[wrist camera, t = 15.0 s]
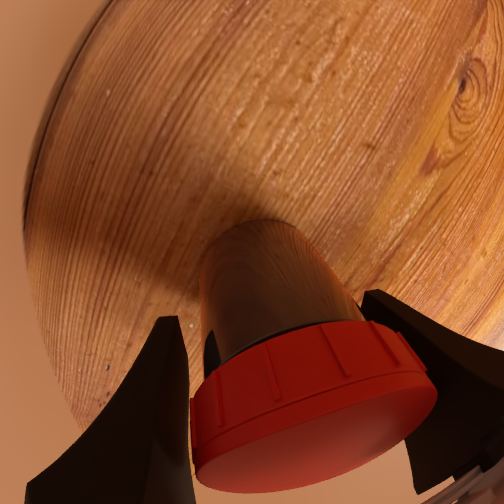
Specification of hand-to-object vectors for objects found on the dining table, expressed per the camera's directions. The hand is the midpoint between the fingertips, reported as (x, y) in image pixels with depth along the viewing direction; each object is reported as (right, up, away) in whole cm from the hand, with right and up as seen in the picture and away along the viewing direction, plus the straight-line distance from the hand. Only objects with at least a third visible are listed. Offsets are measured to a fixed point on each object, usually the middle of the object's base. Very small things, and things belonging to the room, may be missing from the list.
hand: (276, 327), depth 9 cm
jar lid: (+1, -2, -4) cm, 5 cm away
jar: (-1, +2, +3) cm, 3 cm away
